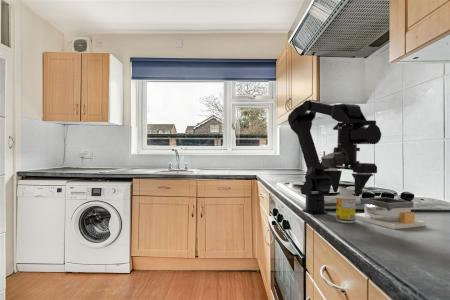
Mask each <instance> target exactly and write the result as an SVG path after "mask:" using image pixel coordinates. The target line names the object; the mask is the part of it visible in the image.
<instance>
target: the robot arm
mask: <svg viewBox="0 0 450 300" xmlns="http://www.w3.org/2000/svg"><path fill="white" fill-rule="evenodd" d="M316 113H318V114H322V115H326V116H329V117H331V119H333V120H334V121H337V122H338V123H336V125H334V127H333V128H332V129H333V131H337V141H336V142H337V143H336V144H337V146H336V147H335V146H334V147H333V152H331V153H328V154H326V155H323V156H321V157H320V158H319V154H318V152H317V149H316V145H315V142H314V139H313V136H312V132H311V129H312V126H313V121H314V119H316V115H317V114H316ZM287 122H288V125H289V127H290V129H291V130H292V131H293V133H295V134H296V136H297V139H298V143H299V146H300V149H301V153H302V156H303V160H304V162H305V165H306V172H305V175H304V179H305V182H304V183H303V184H302V185H301V187H300V194H301V195H303V196H305V208H303V209H301V211H303V212H306V213H307V214H311V215H319V214H328V211H327V210H325V205H326V204H325V196H329V195H330V191H331V188H332V191H333V192H334V193H338V191H339V186H340V182H341V177H342V173H343V170H347V171H348V170H349V171H352V172H353V173H351V176H352V178H353V179H354V196H355V198H356V197H359V196H360V195H361V193H362V191H363V190H364V188H365V186H366V184H367V183H368V182H369V180H370V178H371V177H373V176H374V174H377V173H378V166H377V165H376V163H371V162H361V161H360V160H357V156H358V155H357V154H358V152H360V151H361V147H358V145H376V144H378V143H379V142H380V141H381V138H382V132H381V128H380V127H379V126H378V125H377V121H376V120H375V119H374V120H373V119H372V120H367V118H366V116H365V115H364V113H363V112H362V109H361V106H360V105H359V104H352V103H330V102H329V103H328V102H324V101H323V102H322V101H318V100H315V99H306V100H304V101H303V103H302V104H300V105H298V106H297V107H295V108H293V110H291V112H290V113H289V114H288V117H287ZM320 159H321V161H320Z"/></svg>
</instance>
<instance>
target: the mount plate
mask: <svg viewBox="0 0 450 300" xmlns="http://www.w3.org/2000/svg"><path fill="white" fill-rule="evenodd" d="M356 219H357V220H360V221H363V222H366V223H371V224H374V225H377V226H380V227H381V226H382V227H385V228H388V229H392V230H398V229H399V230H400V229H407V228H408V229H409V228H418V227H425V226H426V222H425V221H423V220H419V219H415V218H414V223H407V224H404V223H400V222H385V221H378V220H373V219H370V218H367V217H365V216H364V212H362V213H361V212H360V213H359V212H358V213H355V220H356Z"/></svg>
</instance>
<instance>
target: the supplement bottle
mask: <svg viewBox="0 0 450 300" xmlns="http://www.w3.org/2000/svg"><path fill="white" fill-rule="evenodd" d="M338 191H339V192H338V193H339V194H337V195H336V202H335V203H336V205H335V206H336V208H335V210H336V211H335V213H336V214H335V220H336V221H337V222H339V223H344V224H352V223H355V222H356V219H355V214H356V200H357V199H356V196H355V194H354V189H352V188H350V187H349V188H346V187H340V188H338Z"/></svg>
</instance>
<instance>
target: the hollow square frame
mask: <svg viewBox="0 0 450 300" xmlns="http://www.w3.org/2000/svg"><path fill="white" fill-rule="evenodd" d="M361 201H362V204H364V212H363V213H364V216H365V217H367V218H370V219H373V220H378V221H385V222H400V223H404V224H407V223H414V219H415V212H414V211H413V212H412V208H414V202H413V201H409V200H404V199H403V200H402V199H397V198H391V197H387V196H385V197H367V198H365V197H364V198H362V199H361Z"/></svg>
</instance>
